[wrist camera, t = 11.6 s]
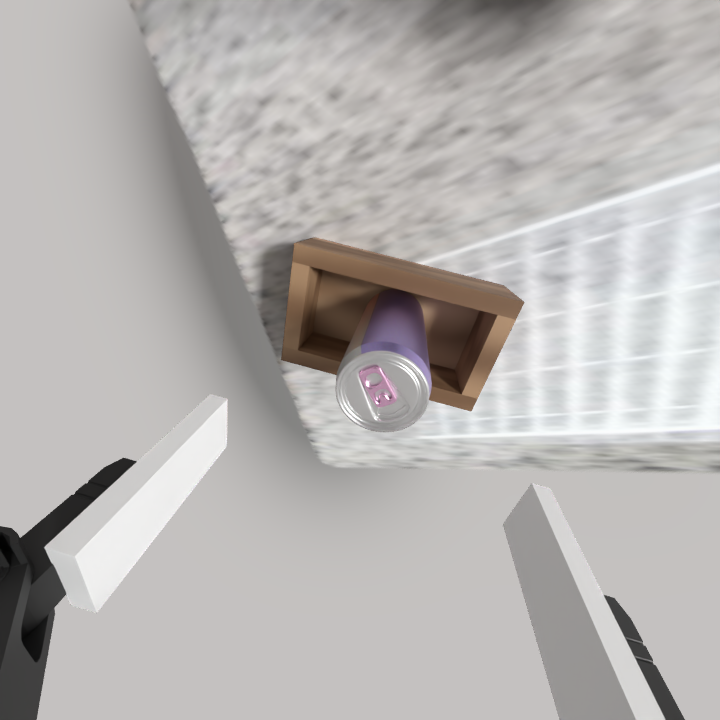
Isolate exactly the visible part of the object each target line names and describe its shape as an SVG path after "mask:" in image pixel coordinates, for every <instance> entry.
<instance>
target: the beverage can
mask: <svg viewBox="0 0 720 720" xmlns="http://www.w3.org/2000/svg"><path fill="white" fill-rule="evenodd" d="M431 388H432V381H431V373H430V365H429V357H428V348H427V340H426V332H425V324H424V315H423V310H422V307H421V305H420V303H419V302H418V301H417V299H416V298H415V297H414V296H412V295H411V294H409V293H407V292H405V291H402V290H397V289H390V290H385V291H382V292H380V293H378V294H377V295H375V296H374V297H373V298H372V299H371V300H370V301H369V303H368V304H367V306H366V309H365V311H364V313H363V315H362V317H361V320H360V322H359V324H358V326H357V328H356V331H355V333H354V335H353V337H352V339H351V342H350V344H349V346H348V348H347V350H346V353H345V355H344V357H343V359H342V361H341V364H340V366H339V368H338V371H337V377H336V397H337V401H338V403H339V406H340V408H341V409H342V411H343V412H344V413H345V415H346V416H347V417H348V418H349V419H350V420H352V421H353V422H354V423H356V424H357V425H359V426H361V427H363V428H365V429H368V430H372V431H377V432H394V431H399V430H402V429H405V428H407V427H409V426H411V425H412V424H414V423H415V422H416V421H417V420H418V419H419V418H420V417H421V416H422V415H423V413H424V412H425V410H426V408H427V405H428V402H429V397H430V394H431Z"/></svg>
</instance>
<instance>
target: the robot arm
mask: <svg viewBox="0 0 720 720" xmlns="http://www.w3.org/2000/svg"><path fill="white" fill-rule="evenodd" d="M227 400H228V399H227V398H223V397H219V396H216V395H212V394H210V395H209V396H208V397H207V398H206V399H205V400H203V401H202V402H201V403H200V404H199V405H198V406H197V407H196V408H195V409H194V410H193V411H192V412H190V413H189V414H188V415H187V416H186V417H185V418H184V419H183V420H182V421H181V422H180V423H178V425H176V426H175V427H174V428H173V429H172V430H171V431H170V432H169V433H168V434H166V435H165V436H164V437H163V438H162V439H161V440H160V441H159V442H158V443H157V444H156V445H155V446H153V448H151V449H150V450H149V451H148V452H147V453H146V454H145V455H144V456H143V457H142V458H140V459H139V460H138V461H137V462H136V461H133V460H130V459H126V458H122V459H120V460H118V461H116V462H114V463H112V464H110V465H108V466H106V467H104V468H103V469H102V470H101V471H100V472H98V473H97V474H96V475H95V476H94V477H93V478H91V479H90V480H89V482H88V483H87V484H84V485H83V486H82V487H81V488H79V489H78V490H77V491H76V492H75V494H74V495H71V496H70V497H69V498H68V499H66V500H65V501H64V502H63V503H62V504H60V505H59V506H58V507H57V508H56V509H54V510H53V511H52V512H51V513H50V514H48V515H47V516H46V517H45V518H44V519H43V520H41V521H40V522H39V523H38V524H37V525H35V526H34V527H33V528H32V529H31V530H30V531H28V532H27V533H26V534H25V535H24V536H22V537H21V538H20V537H19V535H18V534H17V533H16V532H15V531H14V530H13V529H12V528H7V527H1V526H0V720H36V719H37V714H38V708H39V701H40V696H41V691H42V685H43V679H44V672H45V668H46V662H47V656H48V650H49V644H50V639H51V633H52V627H53V621H54V616H55V610H54V607H55V606H56V605H57V604H58V603H59V602H60V601H61V600H62V598H63V597H64V596H65V595H66V596H67V598H68V601H69V603H70V605H72V606H75V607H78V608H82V609H85V610H88V611H91V612H95V613H97V612H98V611H99V610H100V608H101V607H102V606H103V604H104V603H105V602H106V600H107V599H108V598H109V597H110V595H111V594H112V593H113V592H114V590H115V589H116V588H117V586H118V585H119V584H120V583H121V581H122V580H123V579H124V577H125V576H126V575H127V574H128V572H129V571H130V570H131V568H132V567H133V566H134V564H135V563H136V562H137V561H138V559H139V558H140V557H141V556H142V554H143V553H144V552H145V550H146V549H147V548H148V546H149V545H150V544H151V543H152V541H153V540H154V539H155V538H156V536H157V535H158V534H159V532H160V531H161V530H162V529H163V527H164V526H165V525H166V524H167V522H168V521H169V520H170V518H171V517H172V516H173V515H174V513H175V512H176V511H177V509H178V508H179V507H180V505H181V504H182V503H183V502H184V500H185V499H186V498H187V496H188V495H189V494H190V493H191V491H192V490H193V489H194V488H195V486H196V485H197V484H198V482H199V481H200V480H201V479H202V477H203V476H204V475H205V473H206V472H207V471H208V470H209V468H210V467H211V466H212V464H213V463H214V462H215V461H216V459H217V458H218V457H219V455H220V454H221V453H222V452H223V450H224V449H225V448H226V446H227V402H228V401H227ZM503 526H504V530H505V533H506V536H507V540H508V544H509V547H510V550H511V554H512V557H513V561H514V564H515V568H516V571H517V574H518V578H519V581H520V584H521V588H522V592H523V595H524V599H525V602H526V605H527V609H528V612H529V616H530V619H531V623H532V626H533V630H534V633H535V636H536V640H537V643H538V647H539V650H540V653H541V657H542V661H543V664H544V667H545V671H546V674H547V678H548V681H549V685H550V688H551V692H552V695H553V698H554V702H555V705H556V709H557V712H558V715H559V719H560V720H685V719H684V717H683V715H682V714H681V712H680V710H679V708H678V706H677V704H676V702H675V700H674V699H673V697H672V695H671V693H670V691H669V689H668V687H667V686H666V684H665V682H664V680H663V678H662V676H661V674H660V672H659V671H658V669H657V667H656V666H655V665H654V664H653V659H652V657H651V656H650V654H649V652H648V650H647V648H646V646H644V645H643V641H642V639H641V637H640V635H639V633H638V631H637V629H636V628H635V626H634V624H633V622H632V620H631V619H630V617H629V616H628V615H627V614H626V612H625V611H624V610H623V608H622V607H621V606H620V605H619V603H618V602H617V601H616V600H615V598H612V597H609V596H605V595H603V593H602V591H601V589H600V587H599V585H598V583H597V581H596V579H595V577H594V575H593V573H592V571H591V569H590V567H589V565H588V563H587V561H586V559H585V557H584V555H583V553H582V551H581V549H580V547H579V545H578V543H577V541H576V539H575V537H574V535H573V533H572V531H571V529H570V527H569V525H568V523H567V521H566V519H565V517H564V515H563V513H562V511H561V509H560V507H559V505H558V503H557V501H556V499H555V497H554V495H553V493H552V491H551V489H550V488H548V487H544V486H541V485H537V484H533V483H532V484H531V485H530V487H529V488H528V490H527V491H526V492H525V494H524V495H523V496H522V498H521V499H520V501H519V502H518V504H517V505H516V507H515V508H514V509H513V511H512V512H511V513H510V515H509V516H508V518H507V519H506V521H505V522H504V524H503Z"/></svg>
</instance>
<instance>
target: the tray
mask: <svg viewBox="0 0 720 720" xmlns="http://www.w3.org/2000/svg"><path fill="white" fill-rule="evenodd" d="M390 289H397V290H402V291H405V292H407V293H409V294H411V295H412V296H414V297H415V298H416V299H417V301H418V302H419V303H420V305H421V307H422V310H423V315H424V324H425V332H426V340H427V348H428V357H429V365H430V373H431V381H432V388H431V394H430V397H429V400H431V401H435V402H439V403H442V404H446V405H450V406H453V407H457V408H461V409H465V410H468V411H472V409H473V407H474V405H475V403H476V401H477V398H478V396H479V394H480V392H481V390H482V388H483V386H484V384H485V382H486V380H487V378H488V376H489V374H490V372H491V370H492V368H493V366H494V364H495V362H496V359H497V357H498V355H499V353H500V351H501V349H502V347H503V345H504V343H505V341H506V339H507V337H508V335H509V333H510V331H511V329H512V327H513V325H514V323H515V320H516V318H517V316H518V314H519V312H520V310H521V308H522V306H523V304H524V301H522V300H521V299H520V298H519V297H517V296H516V295H515V294H514V293H512V292H511V291H510V290H509V289H507V288H506V287H505V286H504V285H500V284H496V283H492V282H488V281H484V280H480V279H476V278H472V277H468V276H464V275H461V274H457V273H453V272H449V271H445V270H441V269H437V268H433V267H429V266H425V265H421V264H417V263H413V262H410V261H406V260H402V259H398V258H394V257H390V256H386V255H382V254H378V253H374V252H370V251H366V250H363V249H359V248H355V247H351V246H347V245H343V244H339V243H335V242H331V241H327V240H323V239H319V238H315V237H314V238H311V239H307V240H304V241H300V242H297V243H294V250H293V259H292V268H291V277H290V286H289V295H288V304H287V313H286V322H285V331H284V340H283V349H282V357H281V360H283V361H287V362H291V363H294V364H298V365H302V366H305V367H309V368H313V369H316V370H320V371H324V372H328V373H331V374H335V375H337V371H338V368H339V366H340V364H341V361H342V359H343V357H344V355H345V353H346V350H347V348H348V346H349V344H350V342H351V339H352V337H353V335H354V333H355V331H356V328H357V326H358V324H359V322H360V320H361V317H362V315H363V313H364V311H365V309H366V306H367V304H368V303H369V301H370V300H371V299H372V298H373V297H374V296H375V295H377V294H378V293H380V292H382V291H385V290H390Z"/></svg>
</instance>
